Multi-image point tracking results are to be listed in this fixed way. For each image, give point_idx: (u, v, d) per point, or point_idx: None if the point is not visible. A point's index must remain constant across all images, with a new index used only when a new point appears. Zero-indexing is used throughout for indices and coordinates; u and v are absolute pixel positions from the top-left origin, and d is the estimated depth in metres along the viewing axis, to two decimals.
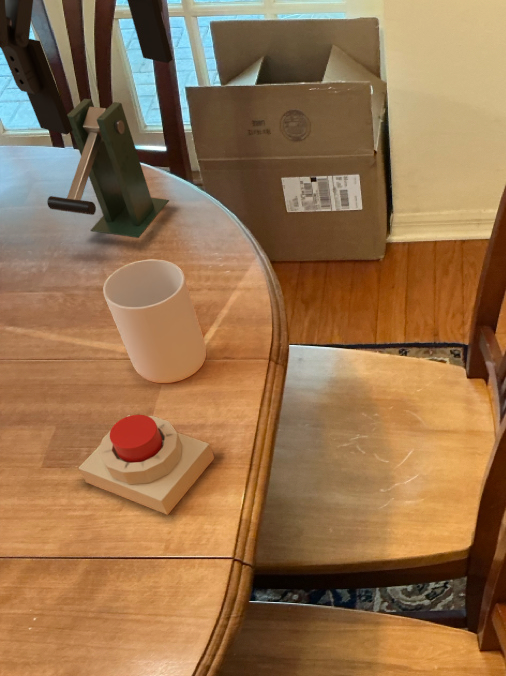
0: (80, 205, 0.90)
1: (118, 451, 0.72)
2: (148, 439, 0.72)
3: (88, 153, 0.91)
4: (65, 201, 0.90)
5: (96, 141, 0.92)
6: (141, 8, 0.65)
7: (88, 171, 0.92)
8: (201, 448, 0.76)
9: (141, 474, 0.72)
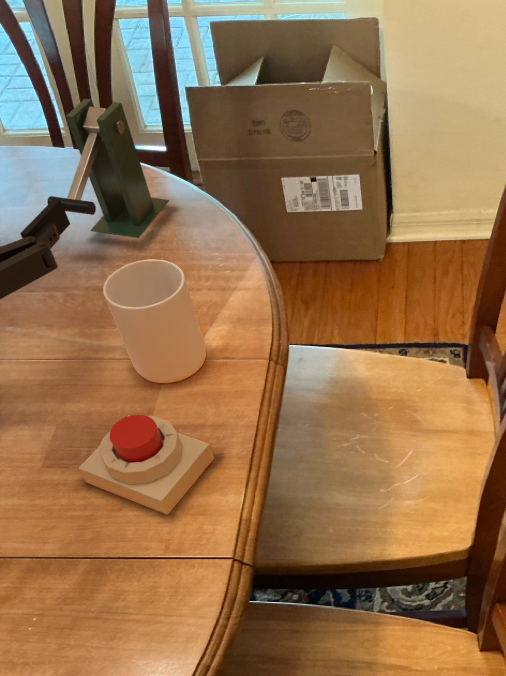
0: (80, 205, 0.90)
1: (118, 451, 0.72)
2: (148, 439, 0.72)
3: (88, 153, 0.91)
4: (65, 201, 0.90)
5: (96, 141, 0.92)
6: None
7: (88, 171, 0.92)
8: (201, 448, 0.76)
9: (141, 474, 0.72)
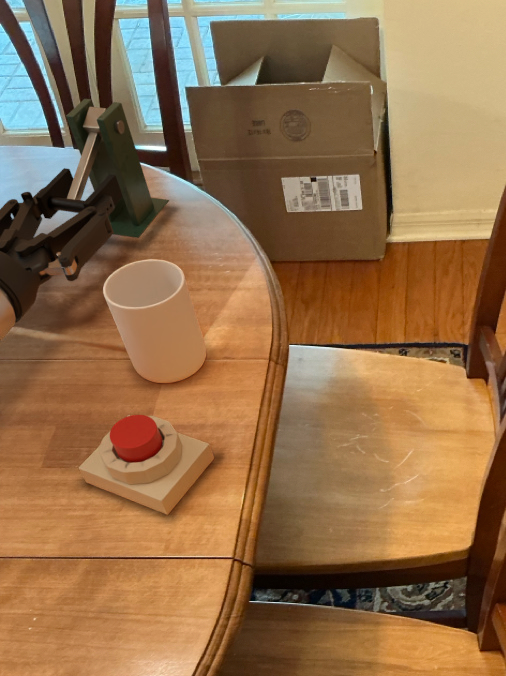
0: (80, 205, 0.90)
1: (118, 451, 0.72)
2: (148, 439, 0.72)
3: (88, 153, 0.91)
4: (65, 201, 0.90)
5: (96, 141, 0.92)
6: None
7: (88, 171, 0.92)
8: (201, 448, 0.76)
9: (141, 474, 0.72)
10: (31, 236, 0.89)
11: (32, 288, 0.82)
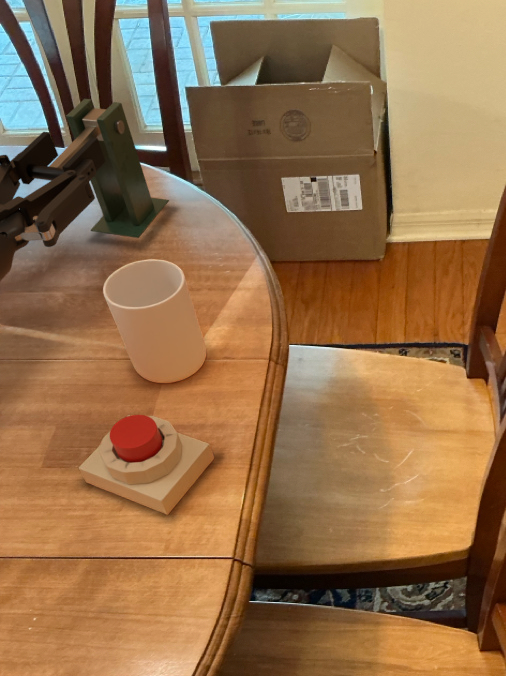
0: (61, 171, 0.86)
1: (118, 451, 0.72)
2: (148, 439, 0.72)
3: (82, 139, 0.90)
4: (46, 167, 0.86)
5: (92, 133, 0.91)
6: None
7: None
8: (201, 448, 0.76)
9: (141, 474, 0.72)
10: (8, 201, 0.84)
11: (7, 254, 0.78)
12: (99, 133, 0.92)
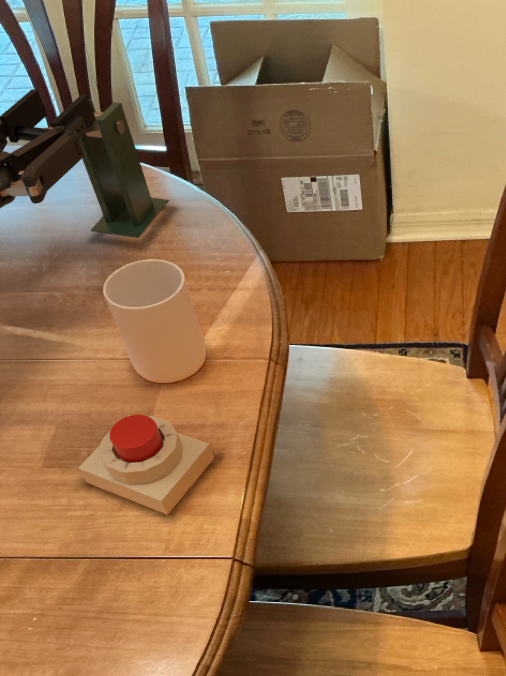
0: None
1: (118, 451, 0.72)
2: (148, 439, 0.72)
3: None
4: (36, 127, 0.83)
5: None
6: None
7: None
8: (201, 448, 0.76)
9: (141, 474, 0.72)
10: None
11: None
12: (97, 129, 0.92)
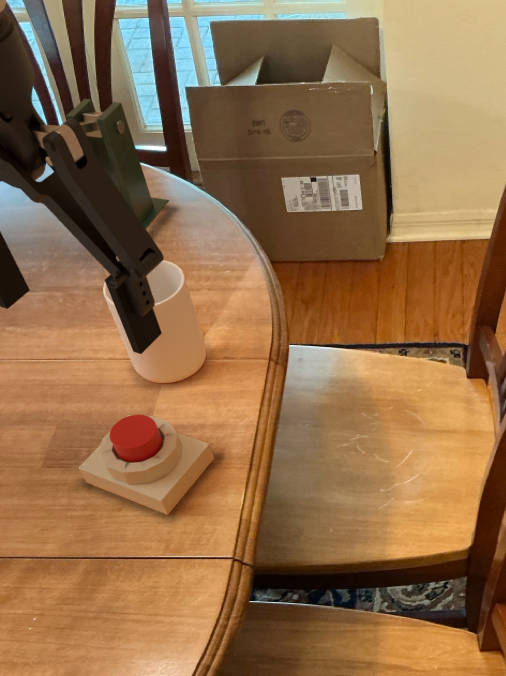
0: None
1: (118, 451, 0.72)
2: (148, 439, 0.72)
3: None
4: None
5: (90, 124, 0.90)
6: None
7: None
8: (201, 448, 0.76)
9: (141, 474, 0.72)
10: None
11: (11, 93, 0.46)
12: (97, 129, 0.92)
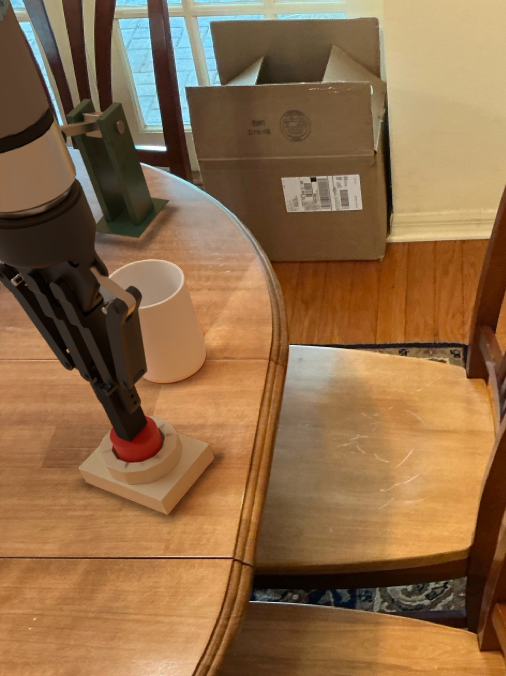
0: None
1: (118, 452, 0.72)
2: (148, 439, 0.72)
3: (79, 124, 0.89)
4: None
5: (90, 124, 0.90)
6: None
7: (71, 132, 0.88)
8: (201, 448, 0.76)
9: (141, 474, 0.72)
10: (76, 338, 0.63)
11: (79, 245, 0.54)
12: (97, 129, 0.92)
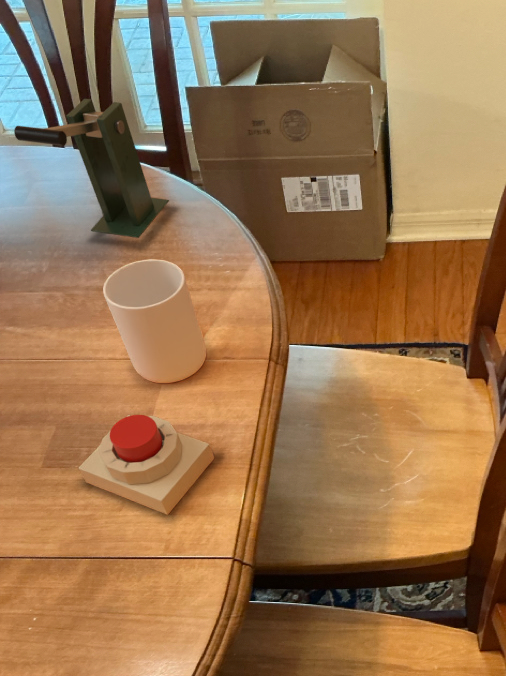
0: (51, 130, 0.83)
1: (118, 451, 0.72)
2: (148, 439, 0.72)
3: (79, 124, 0.89)
4: (36, 128, 0.83)
5: (90, 124, 0.90)
6: None
7: (71, 132, 0.88)
8: (201, 448, 0.76)
9: (141, 474, 0.72)
10: None
11: None
12: (97, 129, 0.92)
